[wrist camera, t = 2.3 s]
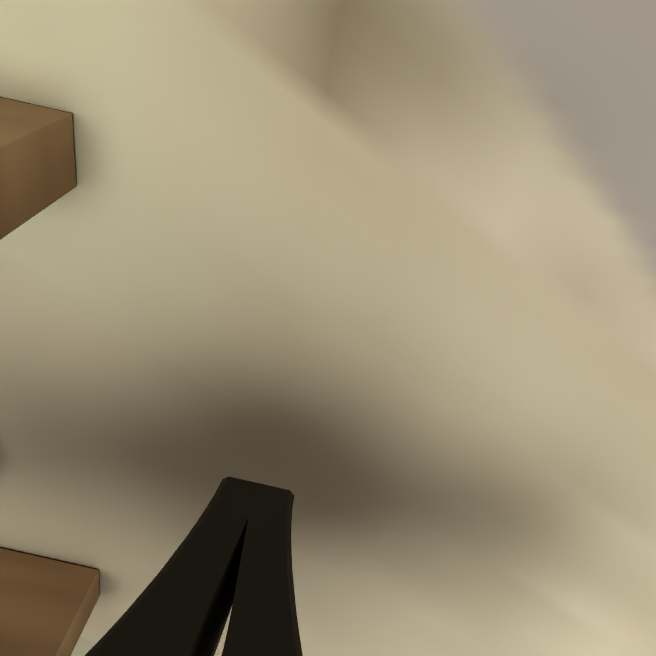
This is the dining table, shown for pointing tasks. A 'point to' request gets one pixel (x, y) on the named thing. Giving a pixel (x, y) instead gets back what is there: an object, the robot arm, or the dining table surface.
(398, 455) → the dining table surface
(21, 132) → the bay
